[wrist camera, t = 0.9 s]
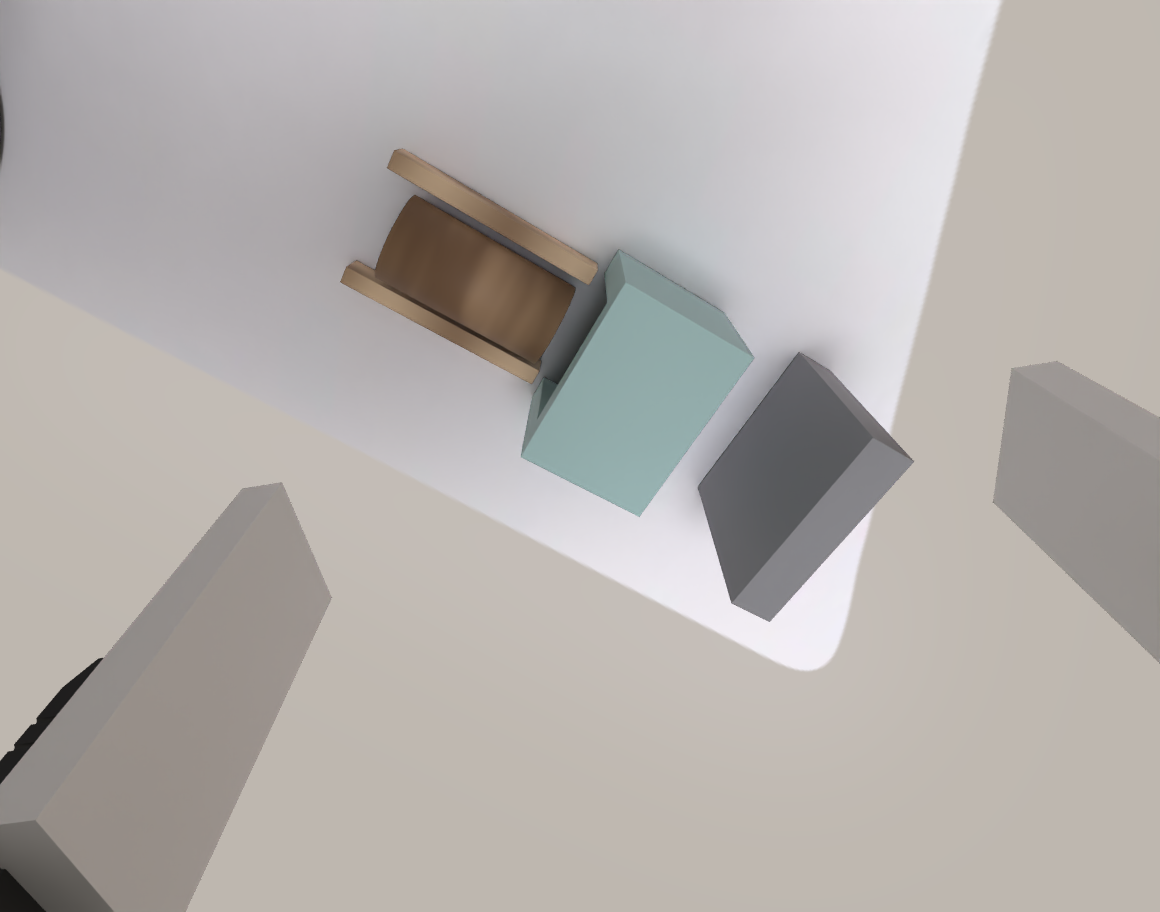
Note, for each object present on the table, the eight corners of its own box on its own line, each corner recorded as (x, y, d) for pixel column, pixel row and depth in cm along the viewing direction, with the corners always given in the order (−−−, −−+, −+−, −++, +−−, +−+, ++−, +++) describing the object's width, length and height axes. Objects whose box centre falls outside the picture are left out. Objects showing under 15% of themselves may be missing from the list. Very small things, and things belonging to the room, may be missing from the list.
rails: (350, 275, 33) (340, 282, 32) (402, 148, 30) (394, 150, 29) (533, 373, 35) (531, 384, 34) (597, 263, 32) (597, 270, 31)
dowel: (389, 268, 33) (365, 286, 29) (423, 191, 31) (403, 200, 28) (536, 348, 35) (531, 375, 31) (575, 279, 33) (575, 298, 29)
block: (531, 397, 35) (520, 456, 29) (618, 249, 32) (625, 282, 26) (630, 450, 37) (639, 516, 31) (724, 312, 33) (754, 357, 27)
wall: (697, 486, 38) (731, 603, 29) (799, 352, 34) (873, 437, 25) (727, 502, 38) (769, 621, 30) (830, 371, 35) (914, 461, 26)
